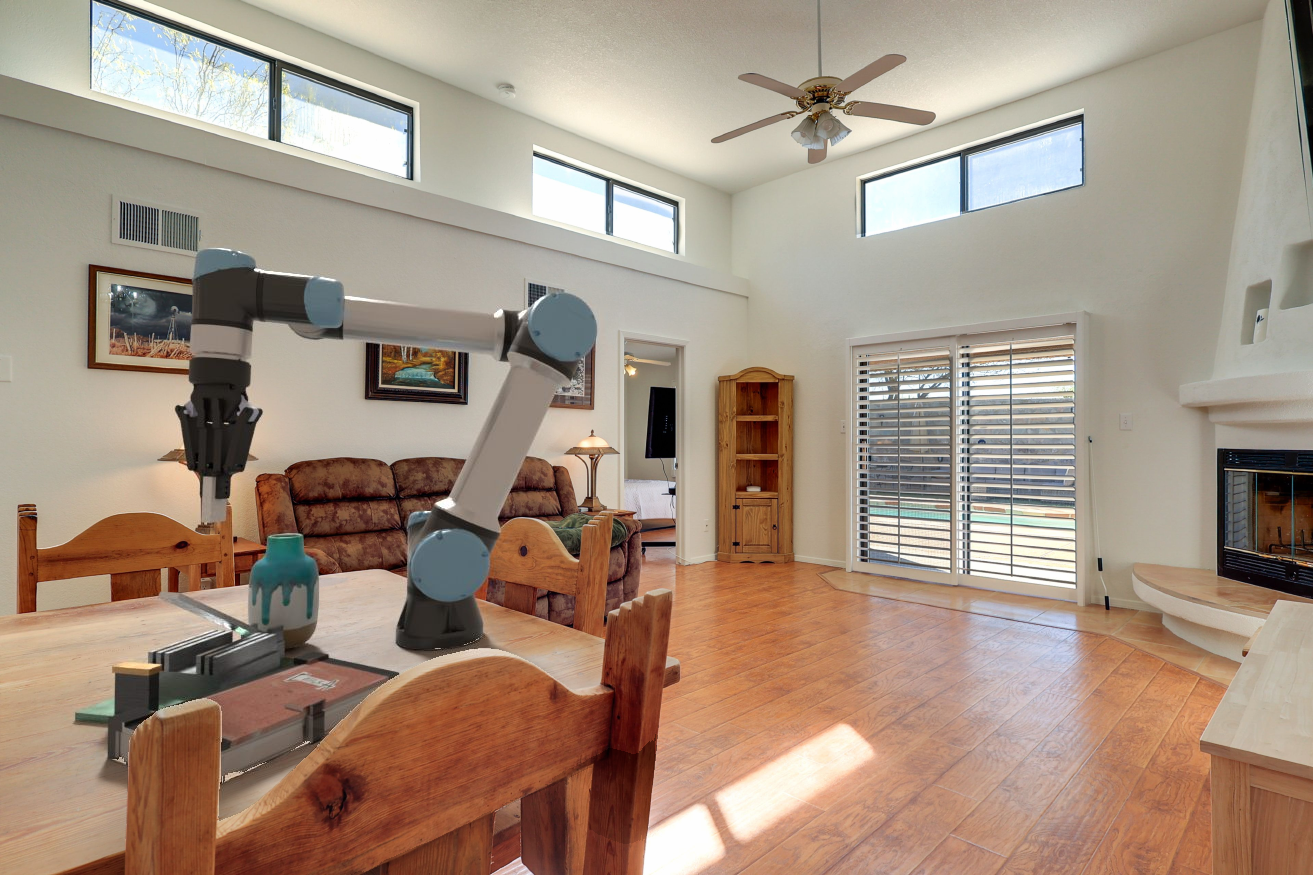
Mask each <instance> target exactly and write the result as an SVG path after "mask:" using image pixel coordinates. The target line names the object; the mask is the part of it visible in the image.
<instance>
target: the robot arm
mask: <svg viewBox="0 0 1313 875" xmlns="http://www.w3.org/2000/svg"><path fill="white" fill-rule="evenodd" d="M191 278H192V279H191V283H192V297H191V299H192V303H191V304H192V306H191V308H192V309H191V325H190V337H189V338H190V339H189V353H191V355H194V357H191V358H190V359H189V364H188V381H189V383H190V384H191V385H192V386H193V389H192V392H191V393H190V395H189V396H190V397H189V398H190V400H189V401H187V402H186V403H185V404H177V405H175V407H174V412H175V413H176V415H177V418H178V420H179V421H180V422H179V423H180V428H181V429H180V430H181V435H182V440H183V442H182V443H183V448H184V454H185V455H184V456H185V461H186V466H187V470H188V471H189V472H195V473H197V474H198V476H199V496H200V499H202V500H201V501H202V502H201V519H200V520H201V521H200V522H201V523H208V524H211V523H212V524H213V523H219V522H226V521H227V506H228V504H227V502H228V499H230V496H231V486H232V485H231V482H232V477H233V475H235V474H239V473H244V471H245V469H246V466H247V461H248V457H249V453H250V449H251V446H252V442H253V438H254V434H255V430H256V426H257V424H258V422H259V420H260V418H262V415H263V413H264V410H263V409H262V408H261V407H255V406H253V405H252V403H250V402H249V396H248V393H247V388H249V387H250V386H251V381H252V365H251V364H250V362H248V361H247V360H250V359H251V358H252V349H253V346H252V345H253V332H254V322H262V323H273V324H274V323H275V324H282V325H283V324H284V325H287V326H288V327H289V328H290V330H292V331H293V332H294V334H296V335H297V336H299V337H301V338H303V339H307V340H311V341H312V340H314V341H319V340H324V339H325V340H326V339H327V340H329V339H330V340H337V341H339V340H341V341H342V340H343V341H353V342H361V343H362V342H363V343H370V344H371V343H372V344H379V345H380V344H381V345H388V346H389V345H391V346H400V347H409V348H420V349H428V350H429V349H430V350H438V351H439V350H440V351H450V352H459V353H467V354H479V355H487V356H492V358H493V359H494V360H495V362H504V363H505V362H506V363H509V366H510V368H509V371H508V372H507V375H506V377H505V379H504V381H503V383H502V384H501V387H500V390H499V392H498V393H497V396H496V398H495V399H494V402H493V404H492V406H491V408H490V410H489V412H488V415H487V417H486V418H485V421H484V423H483V424H482V426H481V429H480V431H479V433H478V436H477V437H476V440H475V441H474V443H473V445H472V448H471V450H470V452H469V454H468V456H467V458H466V460H465V463H464V465H463V466H462V468H461V471H460V473H459V474H458V477H457V478H456V481H455V483H454V485H453V487H452V489H451V492H450V493H449V496H448V497H446V498H445V499H442V500H440V501H436V502H435V503H434V504H433V507H432V509H431V510H430V511H429V510H428V511H427V510H425V511H414V512H412V513H410V514H409V516H408V520H407V521H408V523H407V525H406V532H407V556H406V557H407V560H406V561H407V564H406V573H407V574H406V575H407V576H406V597H405V601H404V604H403V607H402V610H401V612H400V615H399V618H398V621H397V624H396V627H395V643H396V644H398V645H399V646H400V647H403V648H407V649H414V650H425V649H426V651H427V649H435V648H441V649H440V650H446V649H445V648H447V649H453V648H459V647H463V646H465V645H464V644H467V643H470V642H473V641H475V640H476V639H478V638H480V637H481V636H482V635H483V636H484V620H483V618H482V614H481V611H480V609H479V606H478V602H477V599H476V595H475V593H476V592H477V591H478V590H480V588H481V587H482V586H483V584H484V583H485V581H486V579H487V578H488V575H489V571H490V567H491V565H490V564H491V556H492V553H493V551H494V548H495V546H496V544H497V542H498V539H499V537H500V534H501V533H502V529H501V525H500V523H499V519H498V518H499V516H500V513H501V511H502V509H503V507H504V505H505V502H506V500H507V498H508V496H509V494H510V492H511V489H512V488H513V485H514V483H515V481H516V479H517V477H518V475H519V472H520V471H521V468H522V466H523V463H524V462H525V459H526V457H527V455H528V454H529V450H530V449H531V446H532V445H533V442H534V440H535V439H536V436H537V434H538V432H539V430H540V427H541V425H542V423H543V421H544V419H545V417H546V415H547V412H548V410H549V408H550V405H551V403H552V402H553V399H554V397H555V395H556V393H557V391H558V390H559V389H561V388H564V387H567V386H570V384H571V381H572V380H573V377H574V375H575V373H576V372H577V369H578V367H579V365H580V362H581V360H582V359H583V358H584V357H586V356H587V355H588V354H589V353H590V352H591V350H592V348H593V347H594V345H595V343H596V340H597V337H598V323H597V319H596V317H595V314H594V312H593V310H592V308H591V307H590V306H589V305H588V303H586V301H584V300H583V299H582V298H581V297H579V296H576V295H574V294H572V293H569V292H563V291H560V292H558V291H557V292H552V293H549V294H545V295H543V296H540V297H538V299H536V300H535V301H534V303H533V304H532V305H531V306H530V307H529V308H527V309H523V310H522V309H521V310H507V309H499V310H498V311H497V312H495V313H488V312H479V311H471V310H465V309H464V310H462V309H456V308H455V309H453V308H446V307H437V306H431V305H430V306H429V305H422V304H414V303H406V302H397V301H388V300H380V299H372V298H364V297H357V296H356V297H355V296H349V295H346V296H345V291H344V290H345V288H344V285H343V283H342V281H340V280H338V279H334V278H326V277H323V276H321V275H314V276H313V275H305V274H296V273H295V274H294V273H286V272H276V271H267V270H262V269H259V268H258V267H257V263H256V259H255V258H254V257H253V256H251V255H250V254H248V253H245V252H241V251H237V250H236V251H235V250H233V249H228V248H218V247H209V248H208V247H206V248H204V249H201V250H199V251H198V252H197V253H196V256H195V262H194V271H193V277H191ZM483 636H482V637H483ZM482 637H481V638H482ZM481 638H480V639H481ZM475 642H476V641H475ZM473 643H474V642H473ZM470 644H471V643H470ZM462 645H463V646H462ZM467 645H468V644H467ZM458 646H459V647H458ZM435 650H436V649H435Z"/></svg>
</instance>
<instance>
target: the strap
mask: <svg viewBox="0 0 1313 875" xmlns="http://www.w3.org/2000/svg"><path fill="white" fill-rule="evenodd" d="M157 599H160V600H163V601H164V602H168V603H169V604H171V605H174V606H175V607H178V608H179V609H183V610H185V611H188V612H189V613H192V614H194V615H197V616H199V617H202V618H203V619H206V620H208V621H209V622H212V623H214V624H217V625H219V626H221V627H224V628H226V629H228V630H229V631H233V632H235V633H237V634H240V635H241V634H242V635H244V636H246V637H247V636H250V635H253V634H255V633H262V634H264V633H265V632H263V631H261V630H259V629H257V628H255V627H252V626H250V625H248V624H249V623H247V622H244V621H241V620H239V619H237V618H235V617H233V616H231V615H229V614H226V613H224V612H222V611H220V610H218V609H216V608H214V607H211V606H209V605H208V604H205V603H202V602H201V601H198V600H196V599H194V598H191V597H190V596H187V595H186V594H183V593H181V592H173V591H172V592H170V591H159V594H158V596H157Z"/></svg>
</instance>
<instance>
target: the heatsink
mask: <svg viewBox="0 0 1313 875" xmlns="http://www.w3.org/2000/svg"><path fill="white" fill-rule="evenodd" d="M247 624H248V625H250V626H252V627H255V628H257V629H258V623H251V624H249V623H247ZM283 626H284V625H276V626H274V627H271V628H268V629H267V633H264V634H262V633H255V634H253V635H250V636H247V637H246V636H244V635H242V634H240V639H237V640H234V631H233V630H226V629H215V628H214V629H211V630H208V631H206V632H201V633H200V634H196V635H194V636H190V637H187V638H185V639H182V640H179V641H176V642H173V643H170V644H167V645H165V646H162V647H158V648H155V649H152V650H150V651H147V659H148V660H147V663H146V662H145V663H144V662H137V661H136V662H135V661H123V662H120V663H118V664H115V665H113V666H112V667H111V670H112V671H111V673H112V674H114V696H113V697H112V698H108V699H106V700H103V701H101V702H99V703H96V704H94V705H90V706H88V707H86V708H84V709H80V710H78V711H75V712H74V721H79V722H88V723H96V724H97V723H99V724H104V725H105V724H106V725H108V717H112V716H115V715H118V714H121V713H124V712H127V711H130V710H133V709H136V708H139V707H142V708H145V709H149V710H152V711H156V710H159V709H162V708H165V707H168V706H171V705H174V704H177V703H180V702H183V701H186V700H189V699H192V698H195V697H198V696H201V695H204V694H207V693H210V692H213V691H216V690H219V689H222V688H225V687H228V686H231V685H234V684H237V683H240V682H243V681H246V680H249V679H252V678H255V677H258V676H261V675H264V674H267V673H270V672H273V671H276V670H279V669H282V668H285V667H288V666H291V665H294V657H285V650H286V649H285V640H283ZM233 640H234V641H233Z"/></svg>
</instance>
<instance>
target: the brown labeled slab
mask: <svg viewBox="0 0 1313 875" xmlns="http://www.w3.org/2000/svg"><path fill="white" fill-rule="evenodd" d="M293 658H294V665H291V666H288V667H285V668H282V669H279V670H276V671H273V672H270V673H267V674H264V675H261V676H258V677H255V678H252V679H249V680H246V681H243V682H240V683H237V684H234V685H231V686H228V687H225V688H222V689H219V690H216V691H213V692H210V693H207V694H204V695H201V696H198V697H195V698H192V699H189V700H186V701H183V702H180V703H177V704H174V705H179V704H183V703H185V702H188V701H192V700H196V699H202V698H207V699H211V700H213V701H215V702H217V703H218V704H219V705H220V706H221V711H222V742H221V782H220V785H219V786H221V785H222V776H223V784H224V781H225V775H228V773H233V772H238V771H240V772H241V771H242V772H245V771H247V770H248V769H250V768H252V767H255V766H257V765H259V764H262V763H265V762H268V763H270V762H273V761H275V760H276V758H277V759H278V758H281V757H283V756H285V755H288V754H289V753H288V752H290V751H291V750H293V749H295V748H296V747H298V746H300V745H302V744H304V743H305V741H306V742H307V741H310V742H311V743H312V744H311V745H313V744H315V743H318V742H320V741H322V739H323V738H325V737H326V736H328V735H329V734H328V733H329V732H330V731H331V730H332V729H333V728H334V727H335V726H336V725H337V724H338V723H339V722H340V721H341V720H342V719H344V718H345V717H346V716H347V715H348V714H349V713H350V711H352V710H353V709H354V708H355V707H356V706H357V705H358V704H360V702H362V701H363V700H364V699H365V698H366V697H367V696H368V695H369V694H371V693H372V692H373V691H375V690H376V689H377V688H378V687H380V686H381V685H382V684H384V683H386V682H387V681H388V680H390V679H392V678H394V677H395V676H397V675H399V676H400V672H399V671H395V670H390V669H386V668H385V669H384V668H381V667H376V666H372V665H371V666H370V665H366V664H361V663H357V662H354V661H353V662H352V661H348V660H347V661H346V660H342V659H338V658H333V657H330V654H329V653H324V652H320V651H315V650H313V651H310V652H307V653H303V654H301V655H298V656H295V657H293ZM174 705H171V706H174ZM168 707H170V706H168ZM165 708H166V707H165ZM162 709H163V708H162ZM159 710H160V709H159ZM156 711H158V710H156ZM156 711H152V710H149V709H145V708H142V707H139V708H136V709H133V710H130V711H127V712H124V713H121V714H118V715H115V716H112V717H108V724H107V759H109V760H111V759H117V760H118V759H119V757H122V759H123V758H124V762H126V765H125V766H127V767H129V766H128V752H129V740H130V737H131V735H132V734H133V733H134V731H135V729H136V728H137V726H138V725H139V724H141V723H142V722H143V721H144V720H146V719H147V718H149V717H150V716H152V715H153V714H154V713H155V712H156ZM327 734H328V735H327ZM303 742H304V743H303ZM287 753H288V754H287ZM290 753H291V752H290ZM282 755H283V756H282ZM269 761H270V762H269ZM240 772H239V773H240Z"/></svg>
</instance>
